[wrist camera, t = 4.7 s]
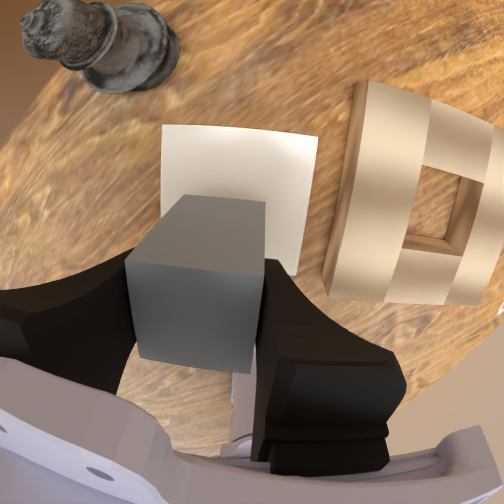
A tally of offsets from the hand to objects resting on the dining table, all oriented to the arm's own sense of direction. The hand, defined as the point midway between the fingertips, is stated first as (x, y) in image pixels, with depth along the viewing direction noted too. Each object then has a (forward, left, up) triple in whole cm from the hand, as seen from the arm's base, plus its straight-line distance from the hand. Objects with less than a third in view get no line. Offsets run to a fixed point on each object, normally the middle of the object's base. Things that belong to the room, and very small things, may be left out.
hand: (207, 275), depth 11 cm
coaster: (0, 0, -10) cm, 10 cm away
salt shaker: (+10, +7, -10) cm, 16 cm away
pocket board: (+2, -14, -10) cm, 17 cm away
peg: (0, 0, -4) cm, 4 cm away
